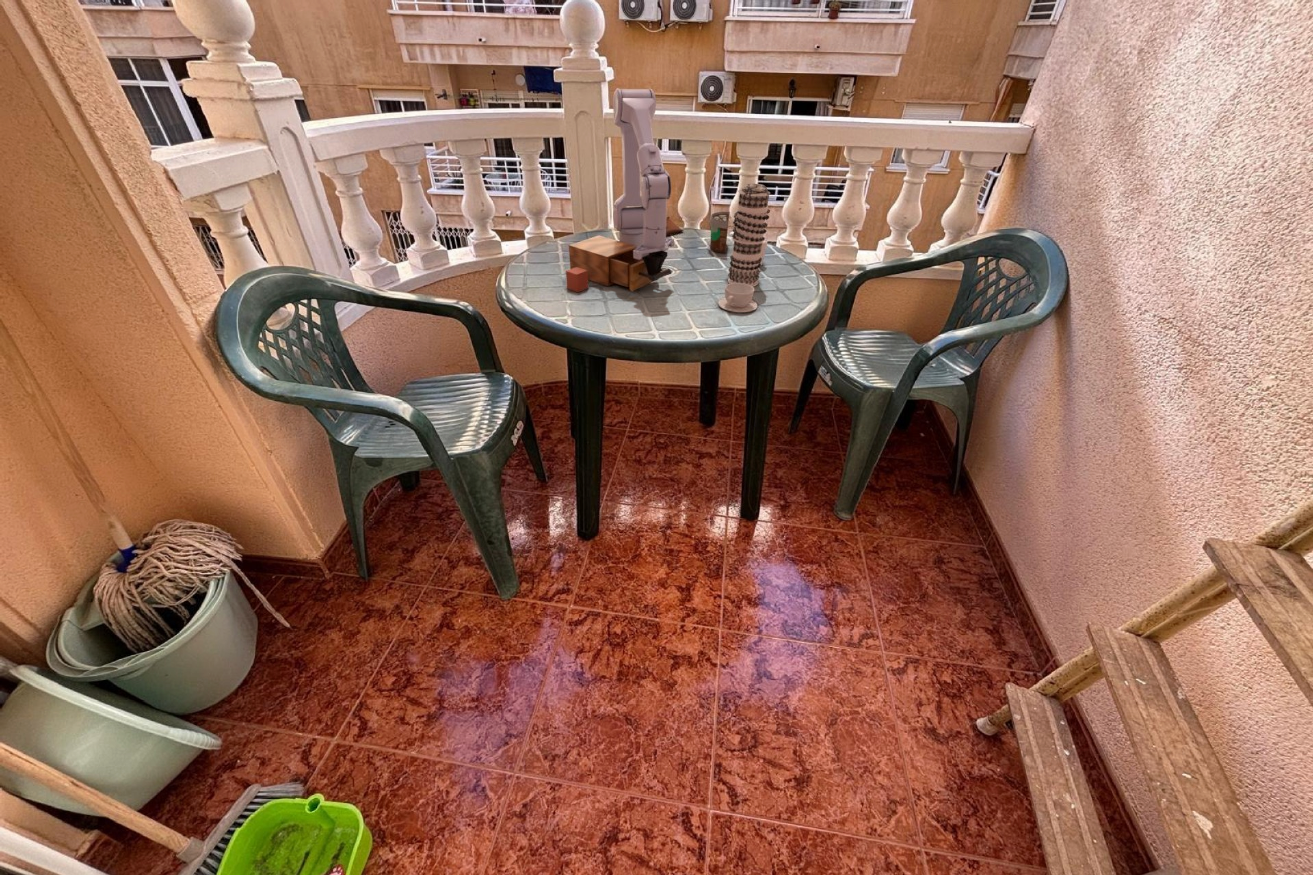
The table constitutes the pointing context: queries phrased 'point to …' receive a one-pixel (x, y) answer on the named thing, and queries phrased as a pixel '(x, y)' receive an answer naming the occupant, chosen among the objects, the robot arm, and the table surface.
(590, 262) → the cabinet
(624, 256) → the drawer
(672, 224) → the sunglasses case
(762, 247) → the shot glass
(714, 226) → the food container
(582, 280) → the block
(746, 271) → the decorative candle
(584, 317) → the table surface
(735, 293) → the teacup
